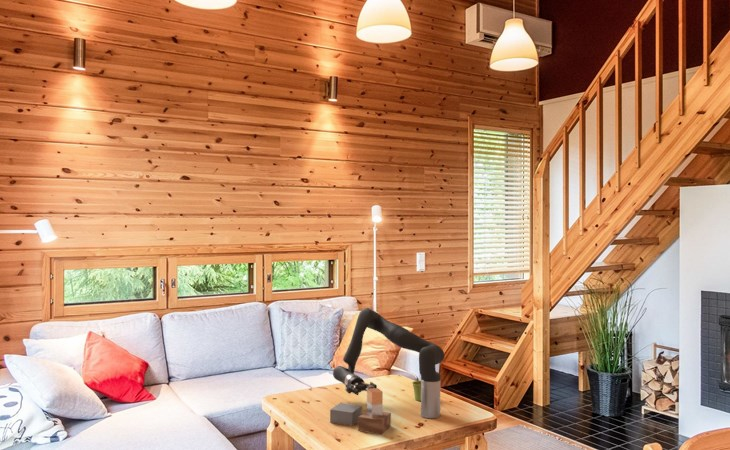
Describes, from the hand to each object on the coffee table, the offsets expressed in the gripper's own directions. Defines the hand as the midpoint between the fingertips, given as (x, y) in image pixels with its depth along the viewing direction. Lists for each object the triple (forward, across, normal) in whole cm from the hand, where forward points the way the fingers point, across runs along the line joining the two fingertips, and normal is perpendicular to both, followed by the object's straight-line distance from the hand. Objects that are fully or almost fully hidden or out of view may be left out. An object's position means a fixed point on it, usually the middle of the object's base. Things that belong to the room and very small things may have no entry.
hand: (366, 392), depth 275 cm
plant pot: (-21, +39, +14) cm, 46 cm away
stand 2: (+10, 0, +14) cm, 17 cm away
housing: (+10, 0, +8) cm, 12 cm away
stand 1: (-4, -8, +14) cm, 16 cm away
